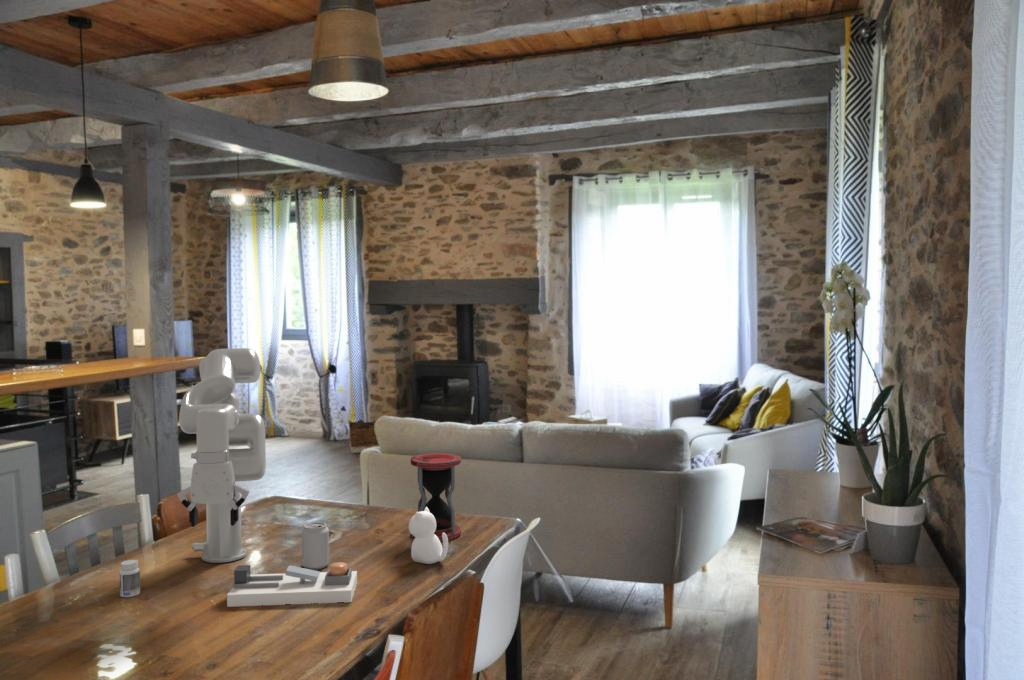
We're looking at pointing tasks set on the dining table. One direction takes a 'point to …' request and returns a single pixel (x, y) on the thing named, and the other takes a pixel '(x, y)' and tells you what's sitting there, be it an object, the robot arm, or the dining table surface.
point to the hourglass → (438, 490)
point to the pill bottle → (129, 578)
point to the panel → (293, 590)
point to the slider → (242, 574)
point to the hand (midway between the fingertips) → (214, 524)
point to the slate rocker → (302, 573)
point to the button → (338, 569)
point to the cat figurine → (426, 539)
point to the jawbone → (335, 535)
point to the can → (315, 545)
